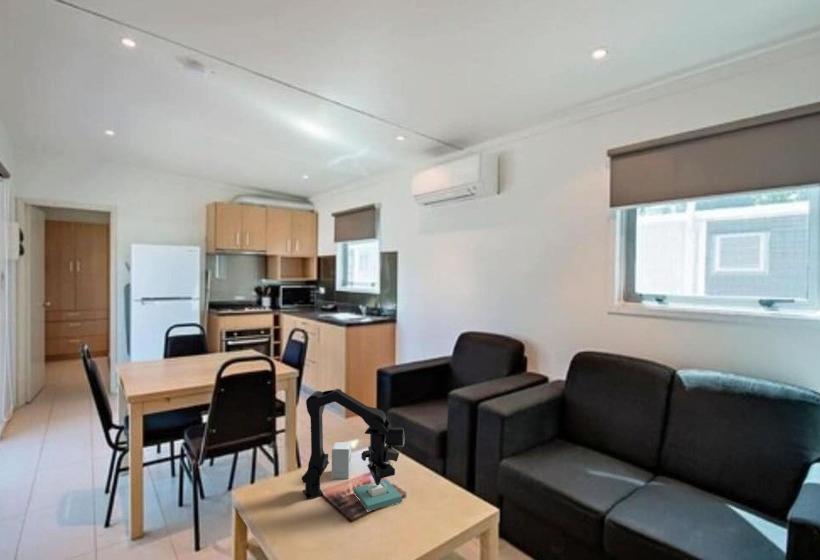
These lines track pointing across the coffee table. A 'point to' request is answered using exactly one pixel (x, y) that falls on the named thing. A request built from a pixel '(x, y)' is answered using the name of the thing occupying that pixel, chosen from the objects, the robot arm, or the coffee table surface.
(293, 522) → the coffee table surface
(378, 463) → the robot arm
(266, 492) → the coffee table surface
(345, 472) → the supplement box
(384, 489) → the plug
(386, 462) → the architectural model
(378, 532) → the coffee table surface
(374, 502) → the socket board
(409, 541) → the coffee table surface
